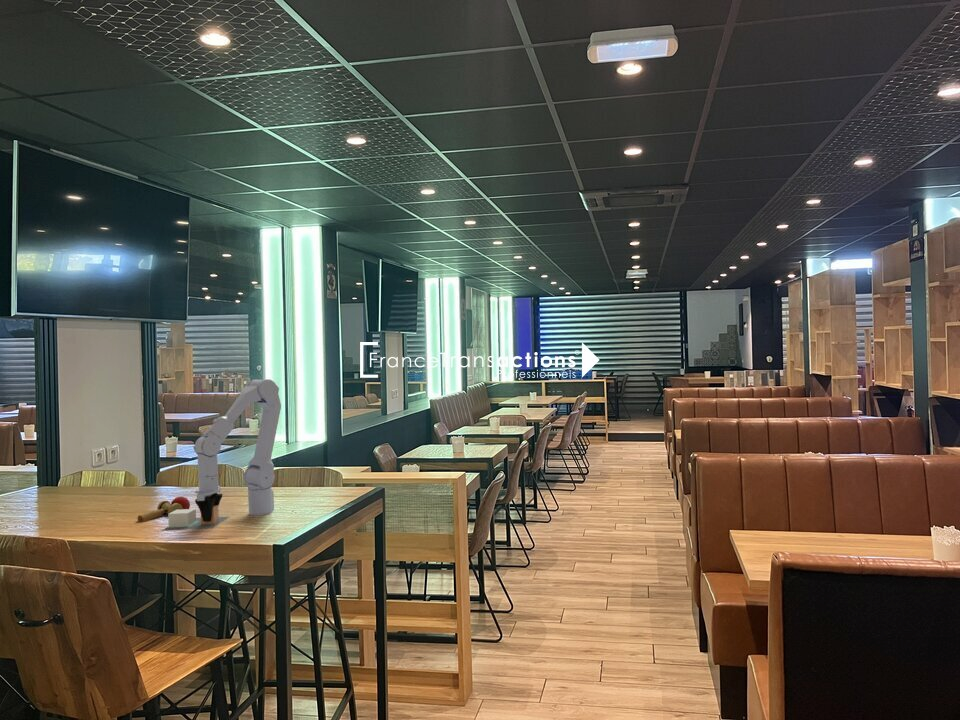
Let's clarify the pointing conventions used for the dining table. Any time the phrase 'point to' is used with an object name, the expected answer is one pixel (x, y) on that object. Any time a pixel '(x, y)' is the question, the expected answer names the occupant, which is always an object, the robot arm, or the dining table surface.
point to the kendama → (166, 508)
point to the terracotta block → (214, 516)
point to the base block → (182, 517)
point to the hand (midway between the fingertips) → (209, 519)
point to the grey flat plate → (197, 525)
